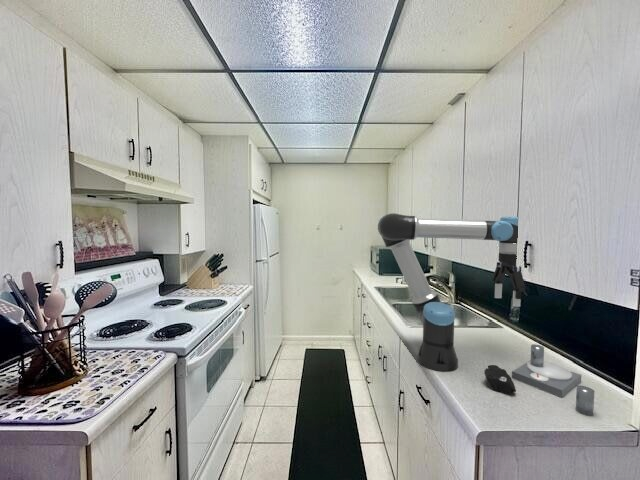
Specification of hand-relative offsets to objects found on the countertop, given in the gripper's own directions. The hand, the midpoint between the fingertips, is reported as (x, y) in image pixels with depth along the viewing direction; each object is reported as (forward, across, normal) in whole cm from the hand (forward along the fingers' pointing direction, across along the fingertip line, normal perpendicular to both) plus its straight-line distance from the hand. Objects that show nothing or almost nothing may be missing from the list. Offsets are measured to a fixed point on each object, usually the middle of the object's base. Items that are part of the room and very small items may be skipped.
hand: (506, 302), depth 129 cm
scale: (+23, -22, -3) cm, 32 cm away
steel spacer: (+23, -40, -1) cm, 46 cm away
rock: (+23, -27, +17) cm, 39 cm away
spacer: (+19, -18, -2) cm, 26 cm away
